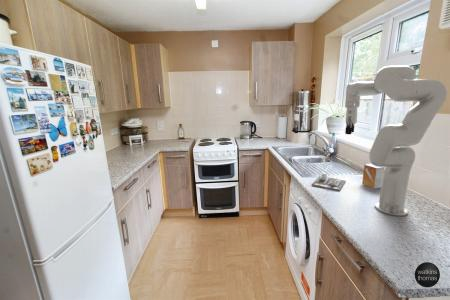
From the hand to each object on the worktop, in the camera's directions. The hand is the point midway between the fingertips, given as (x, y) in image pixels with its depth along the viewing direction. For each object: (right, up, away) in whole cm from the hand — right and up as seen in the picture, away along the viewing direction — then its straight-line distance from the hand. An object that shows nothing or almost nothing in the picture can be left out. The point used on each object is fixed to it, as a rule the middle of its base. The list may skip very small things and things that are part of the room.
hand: (349, 133), depth 132 cm
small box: (+14, -33, 0) cm, 35 cm away
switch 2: (-10, -32, 0) cm, 34 cm away
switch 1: (-12, -30, +8) cm, 34 cm away
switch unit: (-11, -32, +5) cm, 34 cm away
